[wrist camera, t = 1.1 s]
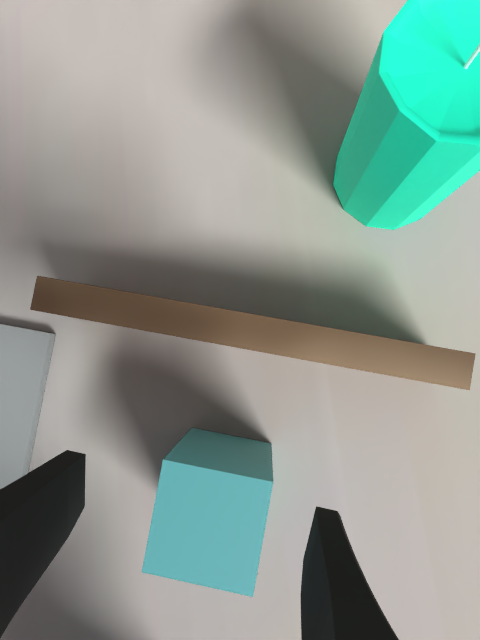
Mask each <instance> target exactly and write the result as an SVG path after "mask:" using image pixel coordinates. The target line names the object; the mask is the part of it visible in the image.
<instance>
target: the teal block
mask: <svg viewBox="0 0 480 640" xmlns="http://www.w3.org/2000/svg"><path fill="white" fill-rule="evenodd" d="M272 486H273V468H272V447H271V443H267V442H262V441H257V440H252V439H247V438H242V437H237V436H231V435H226V434H221V433H216V432H211V431H206V430H201V429H196V428H191V429H190V430H189V431H188V433H187V434H186V435H185V436H184V437H183V438H182V439H181V440H180V441H179V442H178V444H177V445H176V446H175V447H174V448H173V449H172V450H171V451H170V452H169V453H168V455H167V456H166V457H165V458H164V459H163V462H162V467H161V473H160V478H159V483H158V489H157V494H156V499H155V504H154V510H153V515H152V520H151V526H150V531H149V536H148V542H147V547H146V552H145V558H144V563H143V568H142V572H143V573H148V574H152V575H157V576H161V577H166V578H170V579H175V580H179V581H184V582H188V583H193V584H197V585H202V586H206V587H211V588H215V589H220V590H224V591H229V592H233V593H238V594H242V595H247V596H251V597H253V593H254V588H255V582H256V576H257V571H258V565H259V559H260V554H261V548H262V542H263V537H264V531H265V525H266V520H267V514H268V508H269V503H270V497H271V491H272Z"/></svg>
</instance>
